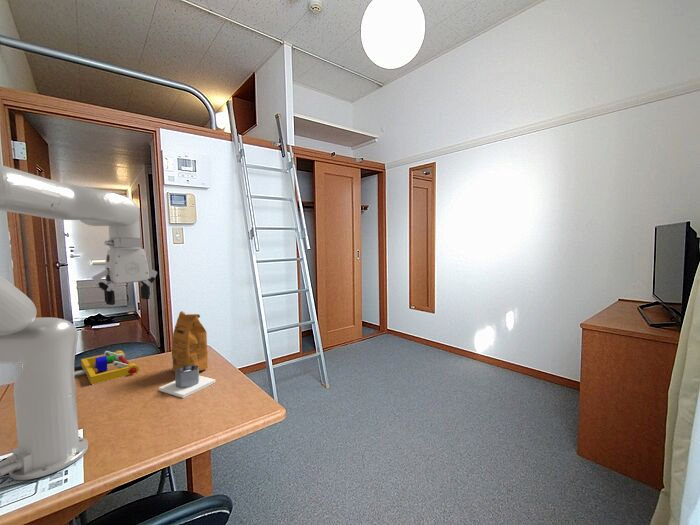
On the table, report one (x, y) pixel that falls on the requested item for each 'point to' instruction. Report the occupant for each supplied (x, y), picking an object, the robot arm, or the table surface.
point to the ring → (187, 376)
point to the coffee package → (189, 342)
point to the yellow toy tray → (100, 364)
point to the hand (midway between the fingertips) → (128, 301)
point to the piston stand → (188, 391)
